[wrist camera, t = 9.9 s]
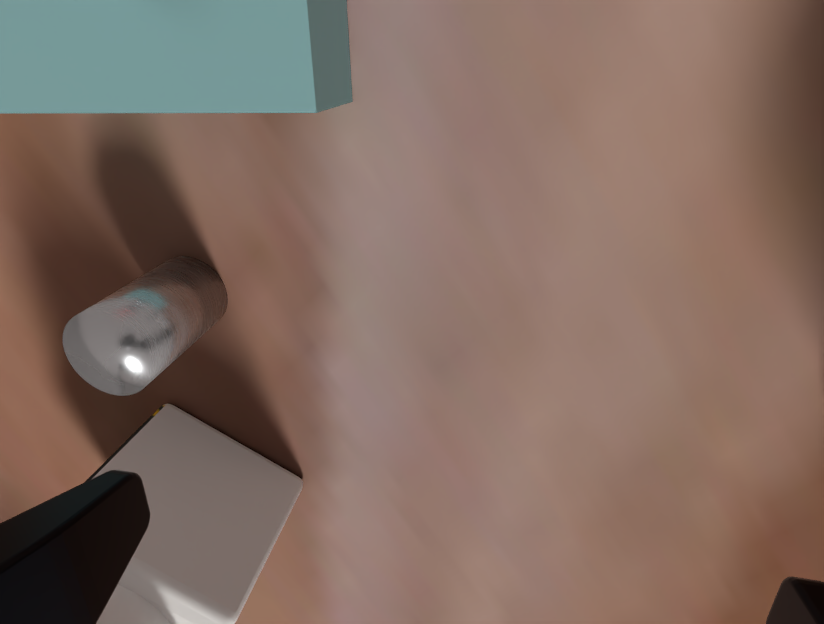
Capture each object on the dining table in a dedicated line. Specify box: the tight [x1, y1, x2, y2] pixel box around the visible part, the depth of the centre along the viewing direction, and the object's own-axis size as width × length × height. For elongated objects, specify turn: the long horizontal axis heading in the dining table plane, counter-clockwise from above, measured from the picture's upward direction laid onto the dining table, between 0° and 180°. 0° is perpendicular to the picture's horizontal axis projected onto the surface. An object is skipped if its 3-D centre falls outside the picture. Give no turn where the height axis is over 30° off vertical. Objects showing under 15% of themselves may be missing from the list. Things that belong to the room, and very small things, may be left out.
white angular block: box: [84, 403, 303, 624], centre depth 21 cm, size 7×7×12 cm
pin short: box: [63, 256, 228, 396], centre depth 20 cm, size 3×3×5 cm
